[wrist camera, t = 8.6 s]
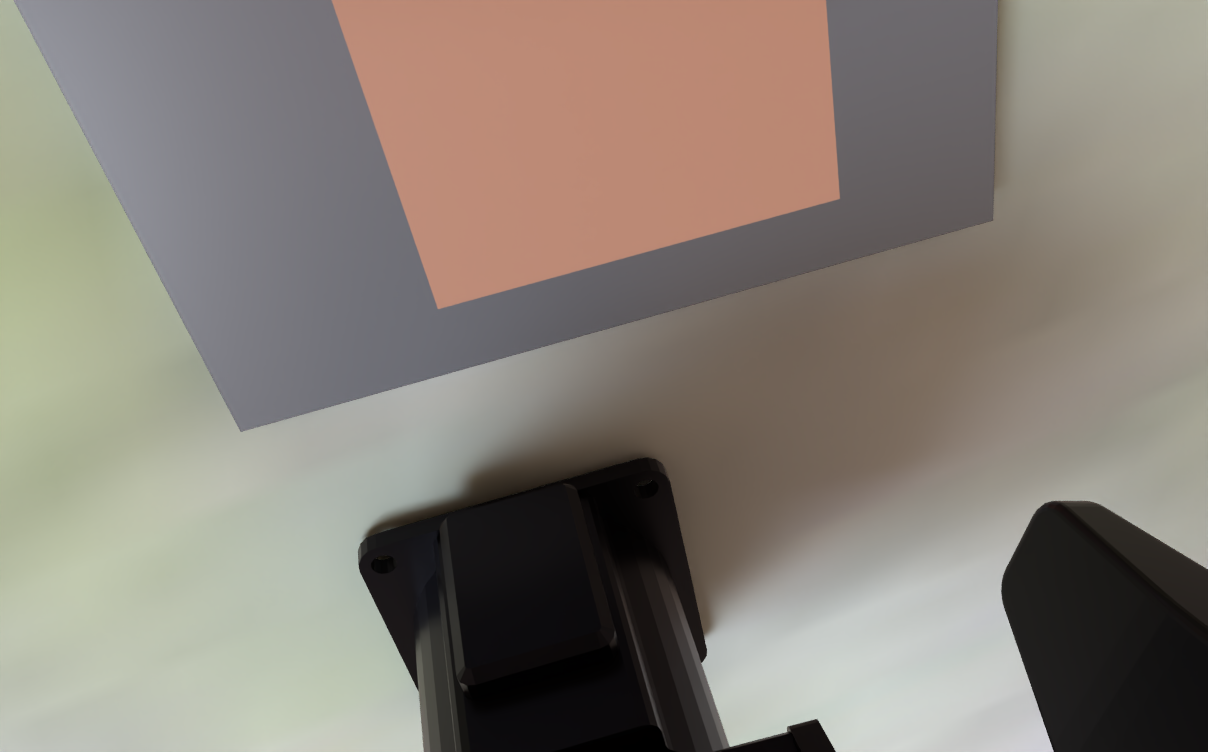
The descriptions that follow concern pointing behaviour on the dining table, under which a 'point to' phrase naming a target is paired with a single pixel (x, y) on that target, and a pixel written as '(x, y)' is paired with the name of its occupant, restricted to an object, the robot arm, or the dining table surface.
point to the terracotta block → (590, 126)
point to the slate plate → (376, 216)
